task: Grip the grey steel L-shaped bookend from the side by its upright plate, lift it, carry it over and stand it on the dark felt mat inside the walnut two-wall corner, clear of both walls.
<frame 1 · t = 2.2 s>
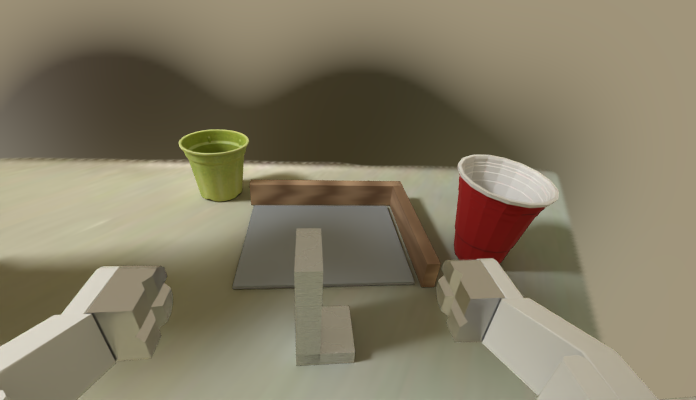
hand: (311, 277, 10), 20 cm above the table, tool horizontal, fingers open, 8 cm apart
plant pot: (222, 193, 52), on the table
plastic cup: (477, 257, 43), on the table
felt mat: (323, 240, 43), on the table
steel bookend: (324, 338, 31), on the table
corner walls: (327, 238, 43), resting in felt mat
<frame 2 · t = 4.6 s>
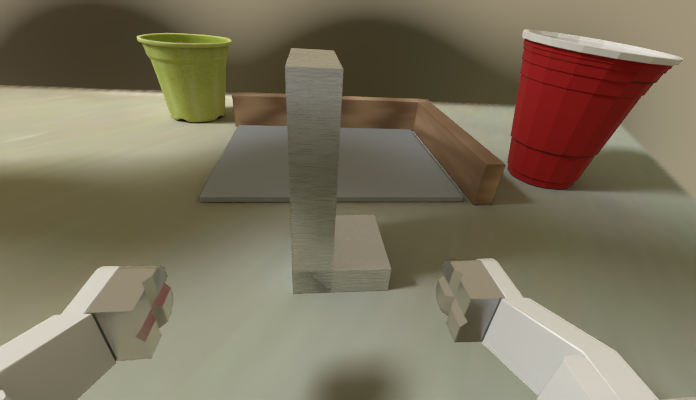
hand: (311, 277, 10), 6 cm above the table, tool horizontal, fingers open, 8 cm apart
plant pot: (199, 117, 40), on the table
plastic cup: (540, 177, 31), on the table
felt mat: (331, 158, 32), on the table
steel bookend: (337, 259, 19), on the table
corner walls: (335, 156, 32), resting in felt mat
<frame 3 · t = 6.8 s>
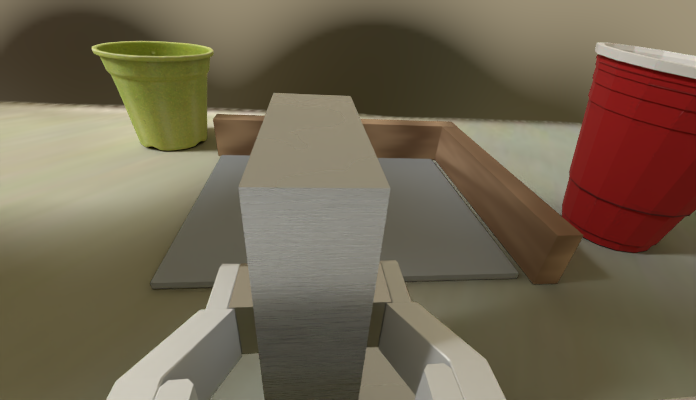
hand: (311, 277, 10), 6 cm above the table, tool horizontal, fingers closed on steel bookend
plant pot: (176, 142, 33), on the table
plastic cup: (605, 231, 24), on the table
felt mat: (336, 205, 25), on the table
corner walls: (342, 201, 25), resting in felt mat
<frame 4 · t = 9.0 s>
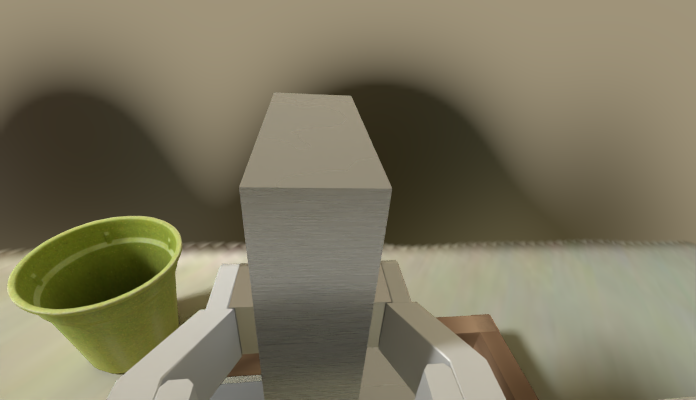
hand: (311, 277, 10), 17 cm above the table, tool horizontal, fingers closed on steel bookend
plant pot: (139, 339, 26), on the table
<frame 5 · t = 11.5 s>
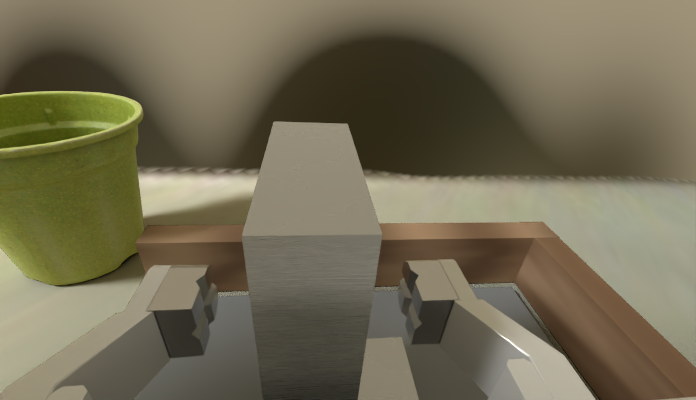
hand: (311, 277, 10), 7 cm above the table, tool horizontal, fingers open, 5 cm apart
plant pot: (92, 253, 21), on the table
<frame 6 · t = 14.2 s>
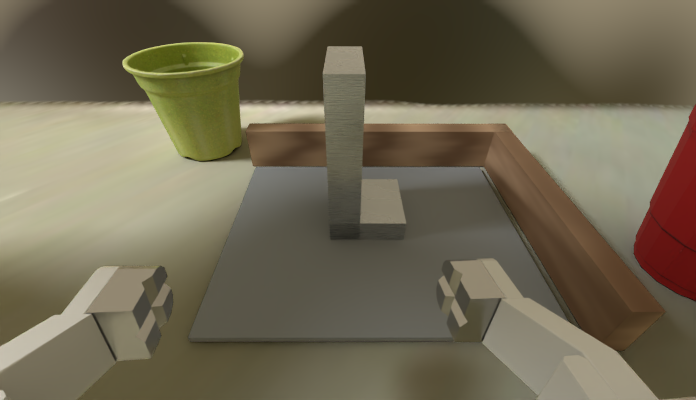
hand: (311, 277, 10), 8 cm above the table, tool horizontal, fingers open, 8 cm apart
plant pot: (212, 147, 33), on the table
plastic cup: (688, 272, 21), on the table
felt mat: (373, 233, 23), on the table
steel bookend: (365, 215, 24), resting on felt mat
corner walls: (379, 228, 24), resting in felt mat
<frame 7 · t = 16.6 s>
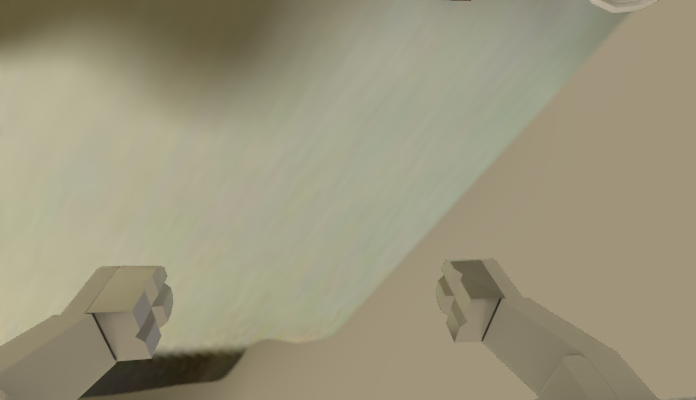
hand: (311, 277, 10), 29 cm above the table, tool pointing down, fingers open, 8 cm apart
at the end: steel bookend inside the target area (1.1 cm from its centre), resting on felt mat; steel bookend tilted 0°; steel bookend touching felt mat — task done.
